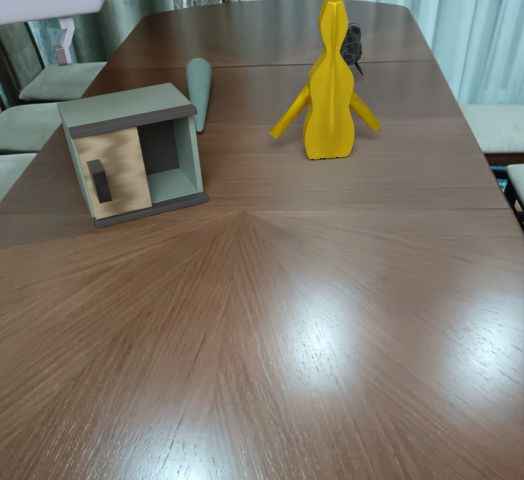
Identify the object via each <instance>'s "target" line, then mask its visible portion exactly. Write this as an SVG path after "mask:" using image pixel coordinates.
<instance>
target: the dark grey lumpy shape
mask: <svg viewBox="0 0 524 480" xmlns="http://www.w3.org/2000/svg"><path fill="white" fill-rule="evenodd" d="M360 25H361V22H360V23H357V22H355V21H353V20H348V29H347V32H346V35H345V38H344V40H343V43H342V45H341V48H340V55H341V56H342V58H343V59H344V61H345V62H346V64H347V65H348V67H349V66H353V65H354V66H355V69H356V70H357V72H358V73H359V74H360V75H361V76H362V77H365V74H364V71H363V70H362V68H361V65H360V64H359V61H360V59H361V58H362V55H363V45H362V41H361V39H362V32H361V27H360Z"/></svg>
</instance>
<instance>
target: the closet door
mask: <svg viewBox="0 0 524 480" xmlns="http://www.w3.org/2000/svg"><path fill="white" fill-rule="evenodd" d="M74 142H75V145H76V149H77V153H78V156H79V160H80V164H81V167H82V171H83V175H84V178H85V182H86V186H87V189H88V193H89V197H90V200H91V204H92V208H93V211H94V215H95V218H96V220H97V219H101V218H105V217H109V216H113V215H118V214H122V213H126V212H130V211H135V210H139V209H143V208H147V207H151V206H152V202H151V197H150V192H149V187H148V182H147V177H146V172H145V167H144V162H143V157H142V152H141V146H140V141H139V136H138V131H137V127H131V128H126V129H121V130H116V131H111V132H105V133H100V134H95V135H90V136H85V137H80V138H75V139H74Z"/></svg>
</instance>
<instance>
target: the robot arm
mask: <svg viewBox="0 0 524 480" xmlns="http://www.w3.org/2000/svg"><path fill="white" fill-rule="evenodd" d="M104 4H105V0H0V26H8V25H14V24H22V23H29V22H38V21H45V20H52V19H56V21H57V24H58V26H59V27H60V29H62V33H61V37H60V41H59V44H53V45H52V49H53V53H54V55H55V61H56V64H57V66H58V67H59V68H61V67H66V66H72V65H73V59H72V56H71V50H70V47H71V45H72V41H73V37H74V33H75V29H76V26H75V22H74V17H73V16H75V17H76V16H83V15H87V14H88V15H89V14H95V13H99V12H100V11H101V10H102V8H103V6H104Z"/></svg>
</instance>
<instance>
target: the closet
mask: <svg viewBox="0 0 524 480" xmlns="http://www.w3.org/2000/svg"><path fill="white" fill-rule="evenodd" d="M56 106H57V107H56V108H57V110H58V114H59V118H60V120H61V125H62V128H63V131H64V135H65V139H66V143H67V146H68V149H69V153H70V157H71V160H72V164H73V168H74V170H75V174H76V178H77V181H78V185H79V188H80V192H81V194H82V198H83V199H84V202H85V205H86V207H87V209H88V212H89V214H90V217H91V219H92V221H93V223H94V226H95V229H100V228H106V227H109V226H112V225H113V226H114V225H117V224H121V223H126V222H129V221H134V220H137V219H141V218H147V217H151V216H154V215H158V214H163V213H168V212H171V211H175V210H180V209H183V208H188V207H193V206H196V205H200V204H205V203H208V202H209V197H208V195H207V194H206V193H205V191H204V186H203V177H202V169H201V161H200V155H199V147H198V138H197V131H196V128H195V122H194V115H196V114H197V108H196V107H195V106H194V105H193V104H192V103H191V102H190V99H189V98H187V97H186V96H185V95H184V94H183V93H182V92H181V91H180V90H179V89H178V88H177V87H176V86H175V85H174V84H173V83H172V82H165V83H162V84H155V85H150V86H149V85H148V86H145V87H138V88H133V89H128V90H121V91H116V92H111V93H110V92H109V93H105V94H100V95H99V94H98V95H93V96H89V97H88V96H87V97H82V98H78V99H73V100H66V101H60V102H56ZM131 127H137V131H138V136H139V141H140V146H141V152H142V157H143V162H144V167H145V172H146V177H147V182H148V187H149V192H150V197H151V202H152V206H151V207H147V208H143V209H139V210H135V211H130V212H126V213H122V214H118V215H113V216H109V217H105V218H101V219H97V220H96V218H95V215H94V211H93V208H92V204H91V200H90V197H89V193H88V189H87V186H86V182H85V178H84V175H83V171H82V167H81V164H80V160H79V156H78V153H77V149H76V145H75V142H74V139H75V138H80V137H85V136H90V135H95V134H100V133H105V132H111V131H116V130H121V129H126V128H131Z"/></svg>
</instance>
